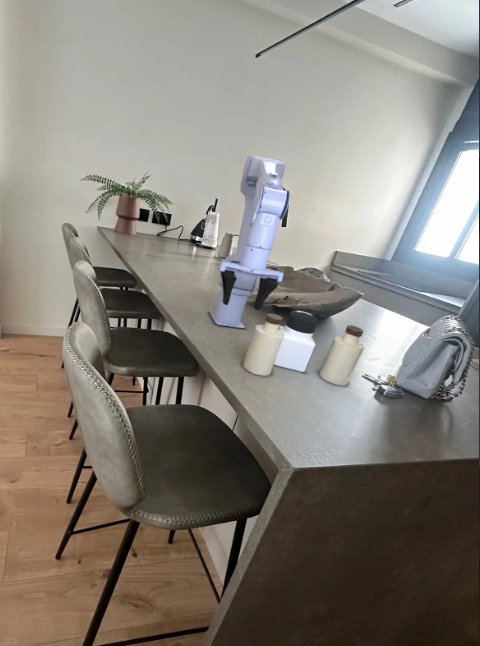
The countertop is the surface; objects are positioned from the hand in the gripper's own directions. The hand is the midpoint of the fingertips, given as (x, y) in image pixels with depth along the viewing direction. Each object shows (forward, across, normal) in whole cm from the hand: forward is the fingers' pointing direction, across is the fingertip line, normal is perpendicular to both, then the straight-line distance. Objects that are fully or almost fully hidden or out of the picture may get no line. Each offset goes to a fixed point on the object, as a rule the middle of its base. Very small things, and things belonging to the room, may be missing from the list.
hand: (240, 306), depth 85 cm
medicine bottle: (+10, +12, -6) cm, 17 cm away
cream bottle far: (+10, +21, -11) cm, 26 cm away
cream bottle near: (+10, +3, -11) cm, 15 cm away
